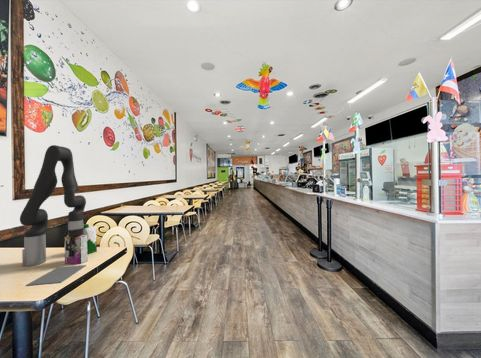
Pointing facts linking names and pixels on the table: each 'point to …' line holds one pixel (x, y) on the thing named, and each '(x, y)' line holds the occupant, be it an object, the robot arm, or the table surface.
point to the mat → (57, 275)
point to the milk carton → (90, 238)
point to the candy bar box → (77, 250)
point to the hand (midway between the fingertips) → (76, 254)
